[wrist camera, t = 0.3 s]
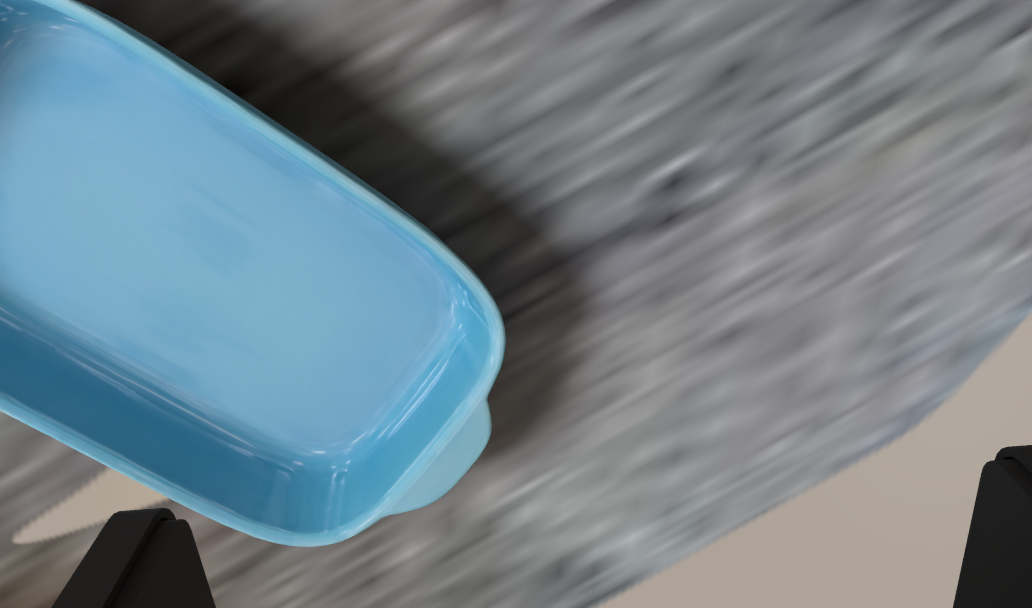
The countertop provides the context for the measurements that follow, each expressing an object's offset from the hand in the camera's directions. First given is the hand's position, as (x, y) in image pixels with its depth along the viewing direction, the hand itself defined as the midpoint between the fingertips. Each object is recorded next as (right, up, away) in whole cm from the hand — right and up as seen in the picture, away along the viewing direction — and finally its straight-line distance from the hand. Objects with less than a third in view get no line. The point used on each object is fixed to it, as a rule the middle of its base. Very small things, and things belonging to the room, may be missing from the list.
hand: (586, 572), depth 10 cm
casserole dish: (-19, +6, +38) cm, 43 cm away
